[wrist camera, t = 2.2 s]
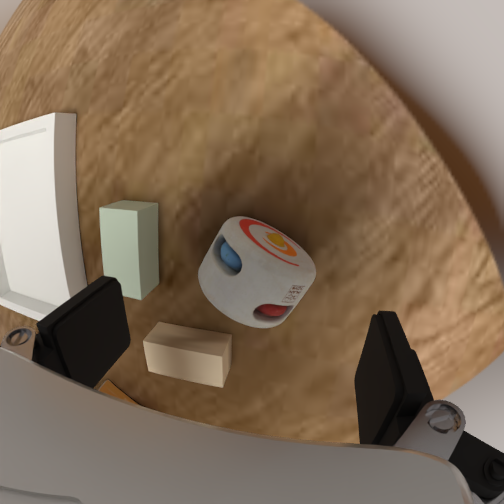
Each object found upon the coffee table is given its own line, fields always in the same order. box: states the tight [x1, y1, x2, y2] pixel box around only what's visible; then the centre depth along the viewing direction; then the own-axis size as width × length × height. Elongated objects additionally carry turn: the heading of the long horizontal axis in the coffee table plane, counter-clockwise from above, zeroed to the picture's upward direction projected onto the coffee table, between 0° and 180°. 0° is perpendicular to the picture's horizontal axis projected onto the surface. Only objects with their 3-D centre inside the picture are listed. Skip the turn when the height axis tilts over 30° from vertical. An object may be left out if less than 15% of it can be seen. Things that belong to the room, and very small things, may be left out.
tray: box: [0, 112, 87, 321], centre depth 21 cm, size 18×14×2 cm
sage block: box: [99, 200, 159, 300], centre depth 20 cm, size 6×3×3 cm, turn 175°
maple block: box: [143, 322, 232, 388], centre depth 22 cm, size 6×3×3 cm, turn 88°
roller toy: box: [198, 216, 316, 328], centre depth 17 cm, size 4×6×6 cm
